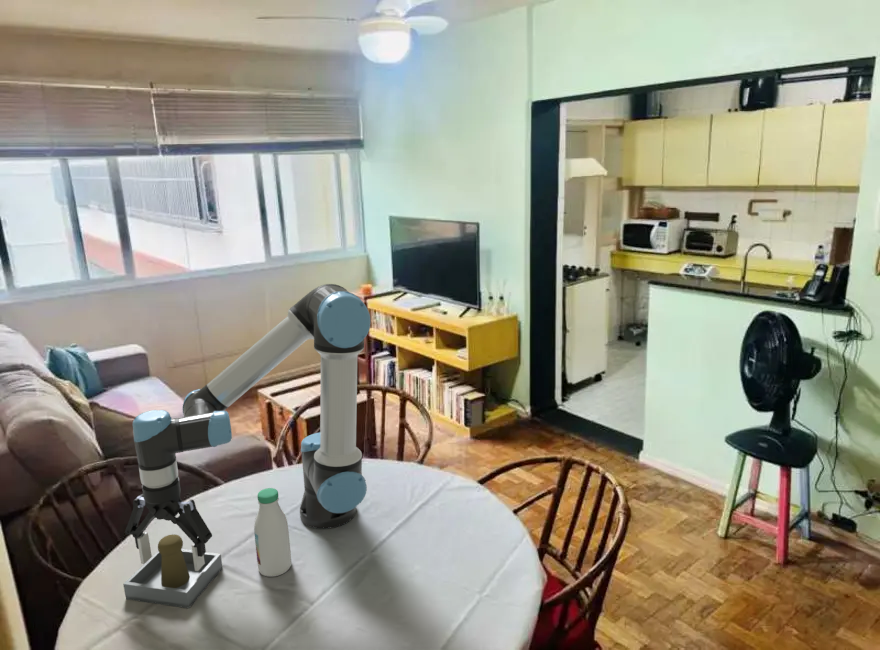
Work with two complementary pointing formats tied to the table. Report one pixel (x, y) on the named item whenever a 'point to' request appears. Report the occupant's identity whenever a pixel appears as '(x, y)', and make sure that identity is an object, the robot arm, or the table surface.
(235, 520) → the table surface
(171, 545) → the cork
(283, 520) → the milk bottle
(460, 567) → the table surface
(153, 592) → the tray
